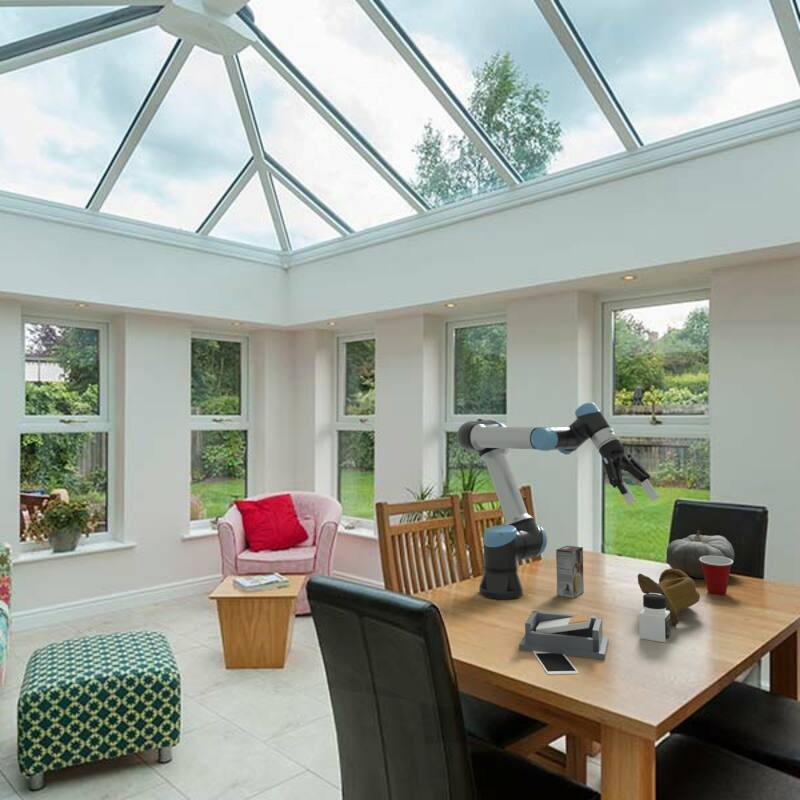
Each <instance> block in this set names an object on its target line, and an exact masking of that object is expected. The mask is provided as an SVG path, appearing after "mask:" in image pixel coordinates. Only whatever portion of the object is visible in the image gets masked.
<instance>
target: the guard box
mask: <svg viewBox="0 0 800 800" xmlns="http://www.w3.org/2000/svg"><path fill="white" fill-rule="evenodd" d="M575 616H582V615H580V614H579V615H578V614H570V613H569V614H568V613H558V612H548V611H537V610H532V611H531V613H530V615H529V616H528V618H527V619H526V621H525V622H524V629H525V630H524V632H525V633H524V636H523V637H522V639H521V641H520V642H519V644H518V650H519V651H524V652H533V651H539V652H547V653H556V654H564V655H565V656H566V657H577V658H585V659H593V660H600V659H601V660H602V661H605V660H606V655H607V651H608V647H609V636H603V617H600V616H591V615H590V618H591V622H590V625H589V628H584V629H577V630H570V631H563V632H556V633H542V632H536V628H537V626H538V625H539V623H540V622H544V621H551V620H558V619H565V618H571V617H575Z"/></svg>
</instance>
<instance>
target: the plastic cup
mask: <svg viewBox="0 0 800 800" xmlns="http://www.w3.org/2000/svg"><path fill="white" fill-rule="evenodd" d="M699 560H700V561H701V564H702V567H703V572H704V582H705V586H706V590H707V593H708V594H709V595H715V596H724V595H726V594H727V590H728V584H729V578H730V572H731V568H732V566H733V563H734V561H733V560H732V559H729V558H726V557H722V556H703V557H700V559H699Z"/></svg>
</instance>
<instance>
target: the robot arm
mask: <svg viewBox="0 0 800 800" xmlns="http://www.w3.org/2000/svg"><path fill="white" fill-rule="evenodd" d="M574 415H575V416H576V419H575V420H574V421H573V422H572V423H571V424H569V425H568V426H558V427H557V426H555V427H553V426H551V427H550V426H549V427H548V426H545V427H543V426H542V427H541V426H540V427H539V426H538V427H535V426H534V427H533V426H530V427H527V426H507V425H505V424H504V423H503V422H501V421H497V420H490V419H489V420H476V421H475V420H470V421H467V422H465V423H463V424H461V426H459V428H458V430H457V433H456V440H457V443H458V445H459V446H460V447H461V449H463V450H465V451H467V452H471V453H478V456H479V458H480V460H481V461H483V462H484V463H485V465H486V468H487V470H488V473H489V477H490V479H491V482H492V484H493V488H494V491H495V493H496V497H497V499H498V503H499V506H500V508H501V511H502V513H503V516H504V520H505V523H504V524H500V525H498V524H497V525H493V526H490V527H487V528H485V530H484V532H483V540H482V543H483V573H482V577H481V580H480V584H479V586H478V587H479V588H478V589H479V591H478V592H479V593H480V594H481V596H482V595H483V596H482V597H484V596H485V598H487V597H490V598H489V599H493V598H496V600H513V598H514V599H517V598H520V596H521V597H522V596H523V592H524V590H523V585H522V581H521V580H520V577H519V572H518V561H523V560H526V559H533V558H535V557H539V556H540V555H542V554H543V553H544V552H545V550H546V548H547V544H548V535H547V532H546V530H545V528H544V527H542V526H541V525H539V524H537V523H536V521H535V519H534V516H532V515H530V514H528V510H527V508H526V506H525V502H524V500H523V497H522V494H521V490H520V487H519V485H518V483H517V480H516V477H515V474H514V472H513V471H514V470H513V468H512V466H511V463H510V461H509V458H508V457H509V456H508V453H509V451H510V449H512V450H513V449H515V450H517V449H518V450H519V449H520V450H537V451H544V452H545V451H546V452H548V451H553V450H554V451H555V450H557V451H558V452H560V453H561V454H563V455H571V454H572V453H573V452H576V451H577V449H578V448H579V447H581V446H582V445H583V444H585V442H586V441H588V440H589V439H590V440H591V442H592V444H593V445H594V447H595V448H596V449H597V450H598V453H599V454H600V456H601V457H602V460H601V461H602V464H603V465H604V468H605V471H606V472H605V473H606V475H607V477H608V481H609V484H610V485H611V486H612V488H614V489H615V488H617V490H618V491H619V493H620V494H621V496H622V497H623V498H624V500H625V502H626V503H627V504H628V506H630V505H632V504H633V503H635V502H636V501H637V499H636V497H635V496H634V495H633V493H632V491H631V490H630V488H629V486H628V485H627V483H626V482H625V481H623V474H622V471H624V472H627V473H629V474H630V475H631V476H633V477H634V478H635V479H636V480H638V481H639V482H640V486H641V487H642V488H643V490H644V492H645V493H646V495H647V497H649V499H650V501H651V502H653V501H655V500H656V499H658V498H659V497H660V495H659V494H658V492H657V490H656V489H655V488H654V486H653V484H652V483H651V482H650V480H649V479H651V475H650V473H649V472H648V471H646V470H645V469H644V467H642V466H641V465H640V464H639V463H638V462H637V460H636V459H634V458H633V456H632V454H630V453H628V454H627V455H625V454H624V450H625V446H624V445H623V443H622V442H621V440H620V439H618V436H617V435H616V433H615V432H614V429H613V428H612V427H611V426H610V424H609V423H608V421H607V419H606V418H605V416H604V415H603V412H602V411H601V410H600V408H599V407H598V406H597V404H596V403H594V402H586V403H583V404H581V405H580V406H578V407H577V408H576V410H575V412H574ZM480 594H479V595H480Z"/></svg>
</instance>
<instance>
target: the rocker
mask: <svg viewBox="0 0 800 800" xmlns="http://www.w3.org/2000/svg"><path fill="white" fill-rule="evenodd" d="M590 616H591V615H590V614H583V615H581V616H575V617H571V618H565V619H558V620H551V621H544V622H540V623H539V625H538V626H537V628H536V632H542V633H556V632H563V631H570V630H577V629H584V628H589V625H590V622H591V618H590Z"/></svg>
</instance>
